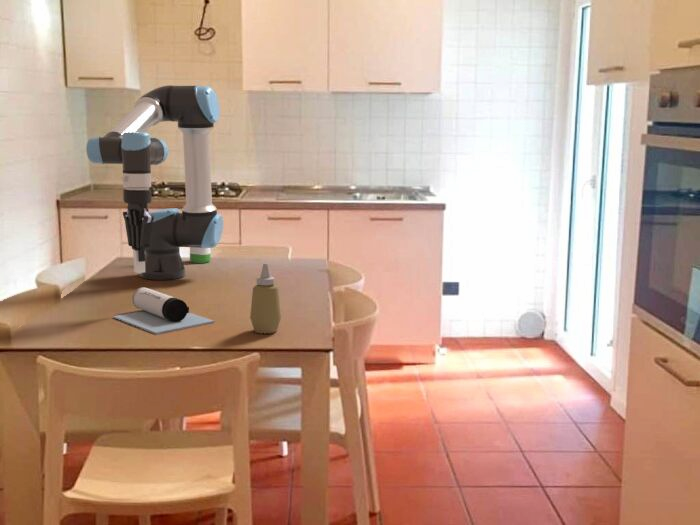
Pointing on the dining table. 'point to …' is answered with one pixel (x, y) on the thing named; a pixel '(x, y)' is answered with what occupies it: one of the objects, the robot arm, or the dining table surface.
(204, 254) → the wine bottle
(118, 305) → the dining table surface
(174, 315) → the travel mug
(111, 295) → the dining table surface
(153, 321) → the mat
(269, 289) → the squeeze bottle
